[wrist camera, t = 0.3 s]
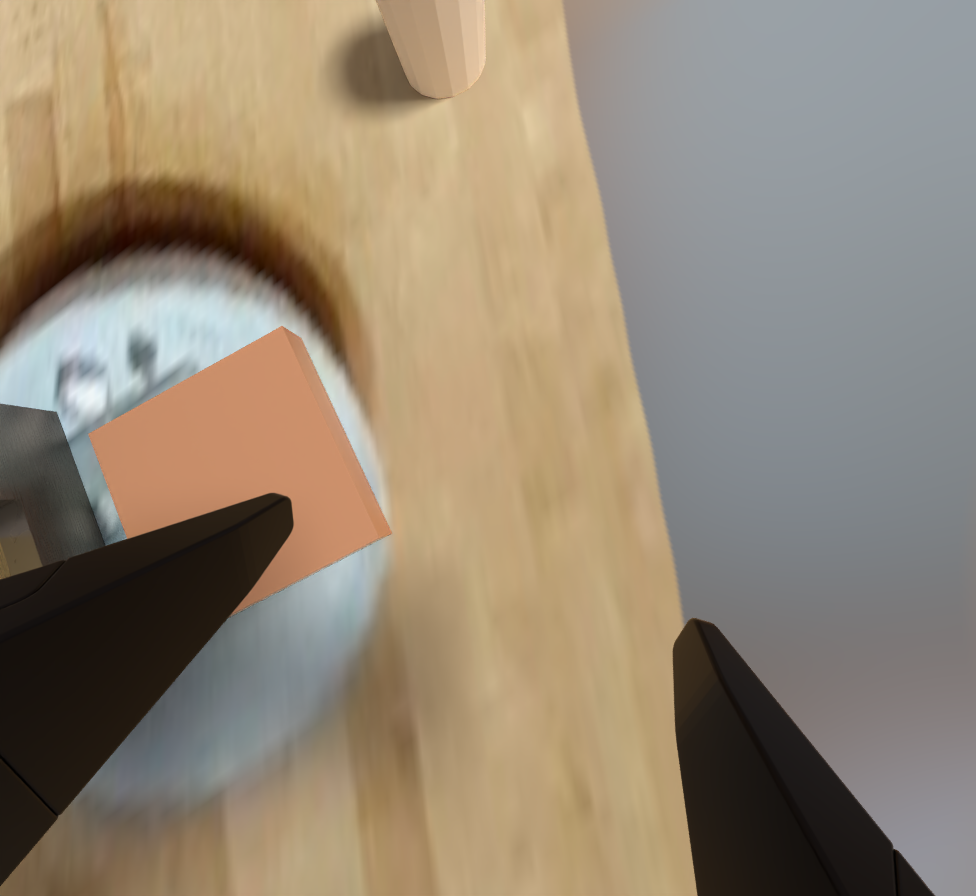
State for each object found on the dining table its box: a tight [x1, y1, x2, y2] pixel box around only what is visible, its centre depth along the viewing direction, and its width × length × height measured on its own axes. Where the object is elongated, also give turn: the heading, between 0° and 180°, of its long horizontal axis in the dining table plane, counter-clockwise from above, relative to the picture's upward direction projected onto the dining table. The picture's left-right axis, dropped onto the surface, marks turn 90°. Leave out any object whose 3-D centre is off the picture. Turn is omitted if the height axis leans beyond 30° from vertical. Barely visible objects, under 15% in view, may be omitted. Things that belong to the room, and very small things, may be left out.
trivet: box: [89, 326, 392, 618], centre depth 24 cm, size 14×14×2 cm
